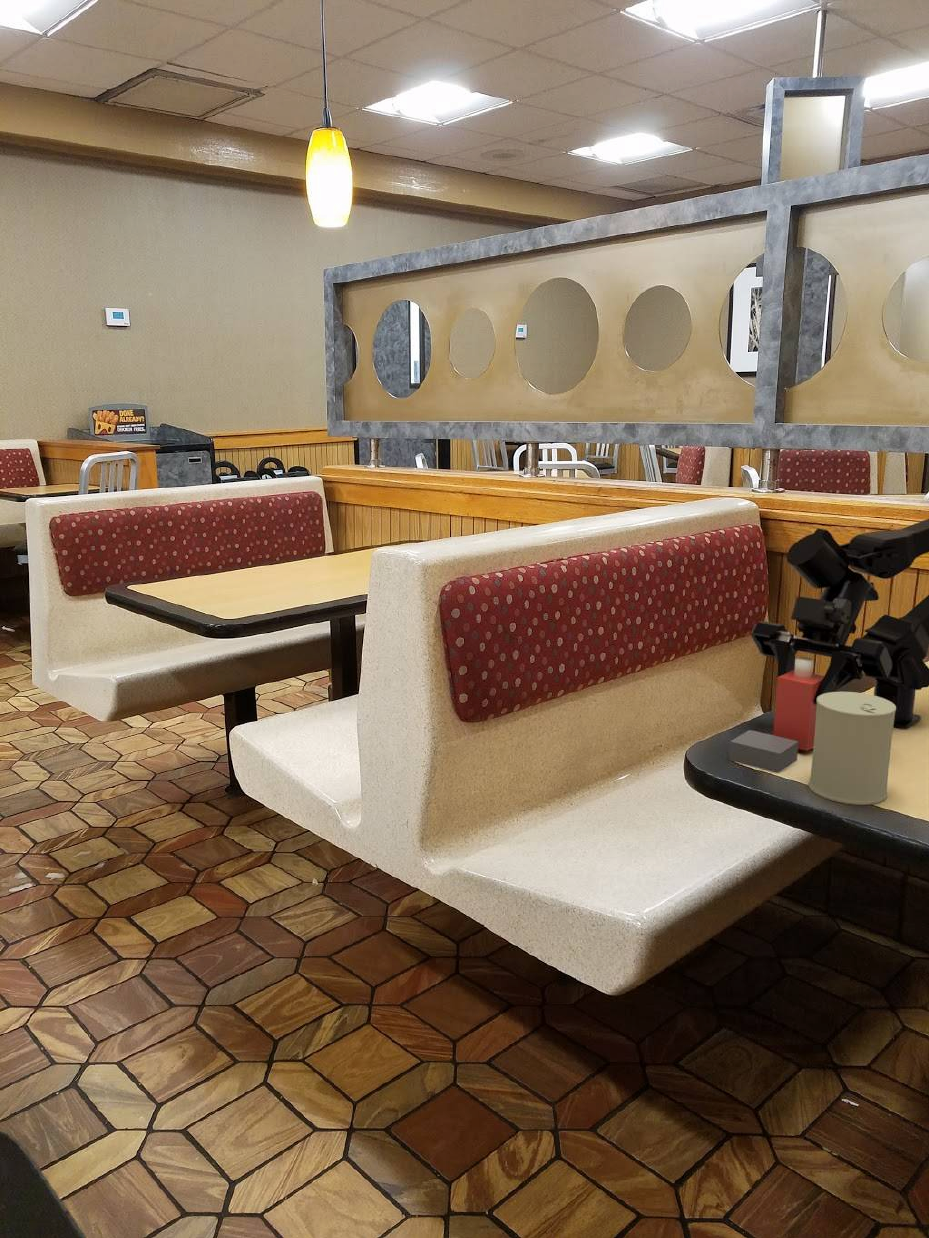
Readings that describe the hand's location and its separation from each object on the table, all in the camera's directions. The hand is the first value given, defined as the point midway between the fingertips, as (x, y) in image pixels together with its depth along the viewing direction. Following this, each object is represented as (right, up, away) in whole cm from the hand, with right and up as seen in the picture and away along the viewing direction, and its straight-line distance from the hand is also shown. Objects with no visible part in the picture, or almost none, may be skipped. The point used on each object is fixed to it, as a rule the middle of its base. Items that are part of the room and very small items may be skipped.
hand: (796, 698), depth 134 cm
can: (+2, -11, -12) cm, 16 cm away
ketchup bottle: (+1, -6, +3) cm, 7 cm away
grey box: (-5, -8, -2) cm, 10 cm away
